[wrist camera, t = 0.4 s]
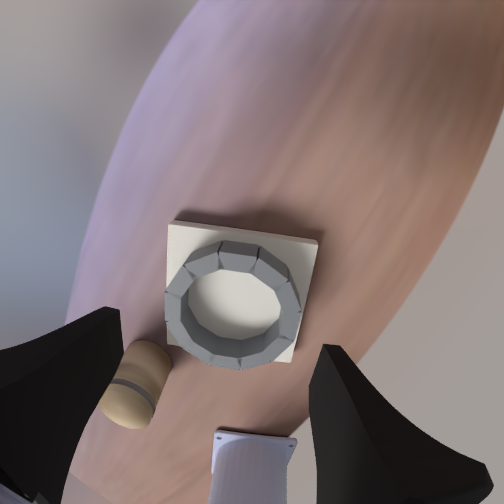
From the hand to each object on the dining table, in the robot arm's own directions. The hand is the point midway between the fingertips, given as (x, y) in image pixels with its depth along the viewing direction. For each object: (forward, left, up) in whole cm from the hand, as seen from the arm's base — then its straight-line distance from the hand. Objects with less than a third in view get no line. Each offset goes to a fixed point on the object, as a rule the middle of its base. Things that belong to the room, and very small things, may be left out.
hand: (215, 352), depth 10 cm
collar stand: (-3, 0, -10) cm, 11 cm away
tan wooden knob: (-11, +7, -10) cm, 16 cm away
